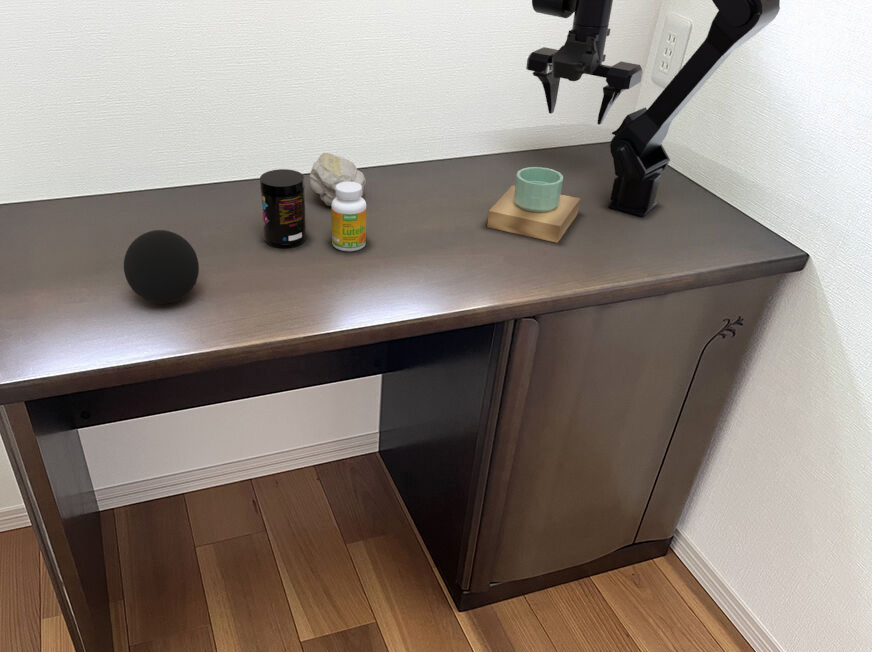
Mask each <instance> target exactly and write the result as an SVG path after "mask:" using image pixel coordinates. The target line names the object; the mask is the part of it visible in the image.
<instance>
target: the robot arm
mask: <svg viewBox="0 0 872 652" xmlns="http://www.w3.org/2000/svg"><path fill="white" fill-rule="evenodd" d="M711 1H712V3H713V4H714V6H715V8H716V9H717V10H718V11H717V12H716V14H715V16H714V17H713V19H712V21H711V24H710V27H709V29H708V32H707V35H706V37H705V39H704V40H703V42H702V43H701V44H700V45H699V47H698V48H697V49H696V50H695V51H694V53H693V54H692V55H691V56H690V58H689V59H687V61H686V63H685V64H684V65H683V66H682V67H681V68H680V69H679V70H678V72H677V73H676V74H675V75H674V77H673V78H672V79H671V80H670V82H669V83H668V84H667V85H666V87H665V88H663V90H662V91H661V92H660V93H659V95H658V96H657V97H656V98H655V99H654V101H653V102H652V103H651V104H650V106H648V108H647V107H642V108H640V109H638V110H636V111H633V112H631V113H629V114H627V115H626V116H625V117H624V118H623V120H622V122H621V124H620V125H619V127H618V128H617V129H616V130H614V131H612V132H611V135H613V137H612V138H611V140H610V143H609V148H610V154H611V157H612V160H613V167H614V175H615V176H616V177H614V178H613V179H614V180H613V182H612V189H611V193H610V198H609V199H610V202H609V203H608V208H610V209H613V210H616V211H620V212H623V213H628V214H631V215H635V216H638V217H645V216H646V215H647V214H648V213H649V212H651V211H652V210H653V209H655V207H656V206H657V204H658V202H657V201H655V200H656V195H657V192H658V188H659V185H660V179H661V176H662V174H661V173H660V172H662V171H664V170H665V169H667V166H668V165H669V163H670V162H671V158H670V156H669V155H668V153H667V151H666V149H665V147H664V146H663V144H662V143H663V142H664V140H665V138H666V137H667V135H668V133H669V130H670V126H671V124H672V122H673V120H675V118H676V117H677V116H678V115H679V114H680V113H681V111H683V109H684V108H685V107H686V106H687V105H688V104H689V102H690V101H691V100H692V99H693V98H694V96H695V95H697V93H698V92H699V91H700V90H701V88H702V87H703V86H704V85H705V84H706V83H708V81H709V79H710V78H711V77H712V76H713V75H714V74H715V73H716V72H717V70H718V69H719V68H720V66H722V64H724V62H725V61H726V60H727V59H728V58H729V57H730V55H731V54H733V52H735V51H736V50H737V49H739V48H740V47H741V46H742V45H744V44H746V43H747V42H748V41H750V40H751V39H752V38H754V37H755V36H756V35H758V34H759V32H761V31H762V30H763V29H765V28H766V27H767V26H768V25H770V24H771V23H772V22H773V21H774V20H775V19H776V17H777V16H778V14H779V12H780V9H781V7H780V5H781V4H780V3H781V0H711ZM613 2H614V0H531V6H532V9H533V11H534V12H536V13H538V14H543V15H547V16H552V17H557V18H563V19H568V18H570V17H571V16H572V15H573V20H572V26H571V29H569V30H568V32H567V36H566V40H565V42H564V44H563V45H562V46H560V47H559V49H556V48H550V47H545V46H544V47H541V48H539V49H536V50H533V51H532V52H531V53H530V54H529V55H528V57H527V60H526V65H525V66H526V67H525V69H526V70H527V71H531V72H532V75H533V76H534V77H536V78H537V79H538V80H539V81H540V82H541V84H542V88H543V91H544V96H545V101H546V105H547V110H548V114H553V113H555V109H556V105H557V100H558V94H559V89H560V81H561V79H565V80H568V81H570V82H577V81H579V80H580V79H581V78H582V76H583V75H590V76H594V77H598V78H599V77H600V78H605V82H606V83H607V85H605V86H603V87H602V93H603V96H602V100H601V105H600V108H599V112H598V116H597V125H601V124H602V123H603V122H604V121H605V118H606V117H607V116H608V113H609V112H610V111H611V108H612V107H613V105H614V104H615V102H616V101H617V99H618V98H619V96H620V95H621V94H622V93H623V92H624V91H626V90H630V89H632V88H633V87H635V86H637V85H638V84H640V83H641V81H642V77H643V69H642V66H641V65H640V64H637V63H632V62H628V61H627V62H626V61H619V62H617V63H615V64H613V65H606V64H603V62H606V56H607V55H606V54H604V52H605V47H606V42H607V38H608V37H609V36H610V34H611V28H609V26H610V25H609V24H610V19H611V15H612V14H611V13H612V8H613Z"/></svg>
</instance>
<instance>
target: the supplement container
mask: <svg viewBox="0 0 872 652" xmlns="http://www.w3.org/2000/svg"><path fill="white" fill-rule="evenodd" d="M259 185H260V187H259V188H260V193H261V194H260V195H261V210H262V222H263V237H264V240H265V242H266V243H267V244H268V245H270V246H272V247H275V248H279V249H289V248H295V247H298V246H300V245H301V244H303V243H304V242H305V240H306V237H307V226H306V225H307V224H306V223H307V222H306V200H305V199H306V198H305V196H306V195H305V176H304V174H303V173H302V172H300V171H297V170H294V169H289V168H280V169H272V170H268V171H265V172H264V173H262V174H261V175H260V176H259Z"/></svg>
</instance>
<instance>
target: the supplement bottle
mask: <svg viewBox="0 0 872 652" xmlns="http://www.w3.org/2000/svg"><path fill="white" fill-rule="evenodd" d="M336 196H337V197H336V198H334V199H333V201H332V206H330V207H331V210H330V211H331V244H332V246H333V247H334V248H335V249H336V250H338V251H342V252H356V251H360V250H362V249H363V248H365V246H366V243H367V202H366V200H365V199H364V198H363V197H362V196H363V195H362V186H361V185H360V184H359V183H356V182H341V183H339V184H337V185H336Z"/></svg>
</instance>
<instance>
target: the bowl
mask: <svg viewBox="0 0 872 652" xmlns="http://www.w3.org/2000/svg"><path fill="white" fill-rule="evenodd" d="M515 176H516V177H515V184H514V185H515V192H514V199H513V200H514V202H515V203H516V204H517V206H518V207H520V208H521V209H523V210H526V211H530V212H538V213H541V212H548V211H551V210H553V209H554V208H555V207H557V206H558V205H559V200H560V195H562V187H563V182H564V175H563V174H562V173H561V172H559V171H557V170H555V169H551V168H548V167H544V166H543V167H542V166H529V167H525V168H521V169H519V170H518V171H517V172H516V175H515Z"/></svg>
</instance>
